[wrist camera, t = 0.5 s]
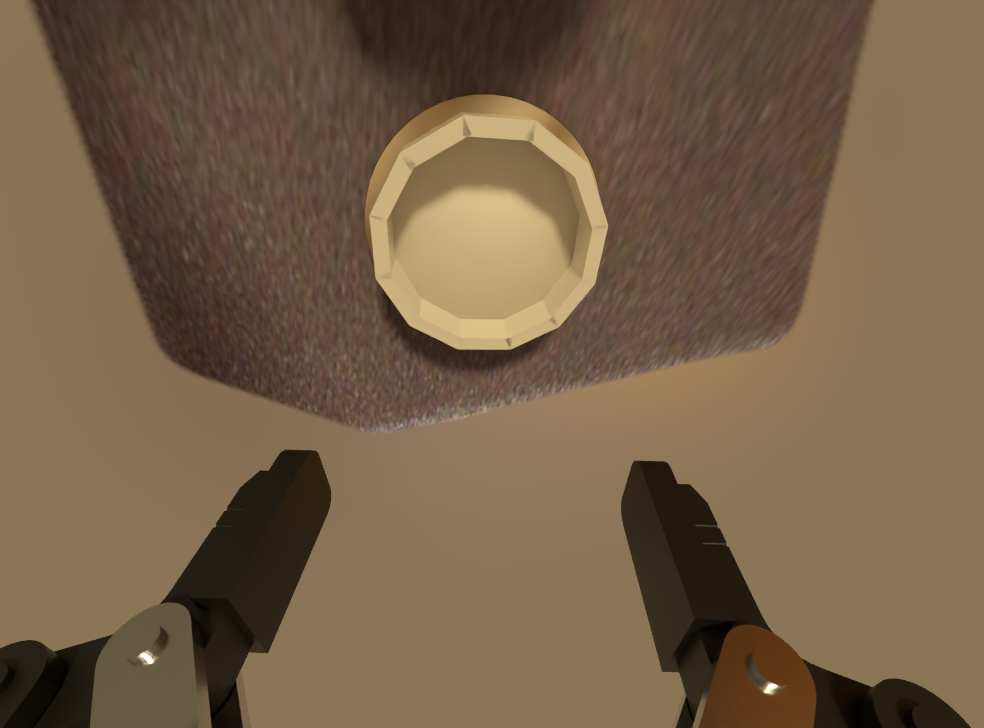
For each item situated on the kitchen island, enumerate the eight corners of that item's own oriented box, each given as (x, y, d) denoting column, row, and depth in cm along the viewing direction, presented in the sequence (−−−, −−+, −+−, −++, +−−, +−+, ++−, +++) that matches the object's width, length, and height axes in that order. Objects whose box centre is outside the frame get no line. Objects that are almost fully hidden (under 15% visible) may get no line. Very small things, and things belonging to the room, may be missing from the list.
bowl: (345, 266, 30) (333, 288, 26) (448, 54, 23) (450, 49, 20) (509, 352, 35) (516, 378, 32) (629, 201, 29) (651, 215, 26)
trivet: (329, 267, 30) (326, 271, 30) (442, 24, 23) (442, 22, 22) (511, 360, 37) (512, 365, 36) (643, 195, 30) (648, 197, 29)
